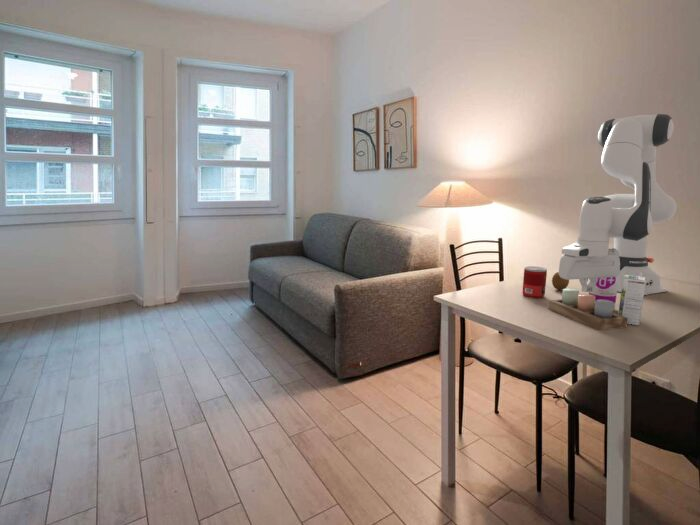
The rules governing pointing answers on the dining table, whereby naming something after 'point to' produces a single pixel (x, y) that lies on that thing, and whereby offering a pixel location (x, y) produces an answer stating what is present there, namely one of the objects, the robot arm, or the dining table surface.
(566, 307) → the wooden tray
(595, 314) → the grey button
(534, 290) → the canned food
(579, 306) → the pink rounded cylinder
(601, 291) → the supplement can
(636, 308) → the syrup box
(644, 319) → the dining table surface
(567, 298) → the sage button
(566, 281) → the fruit
